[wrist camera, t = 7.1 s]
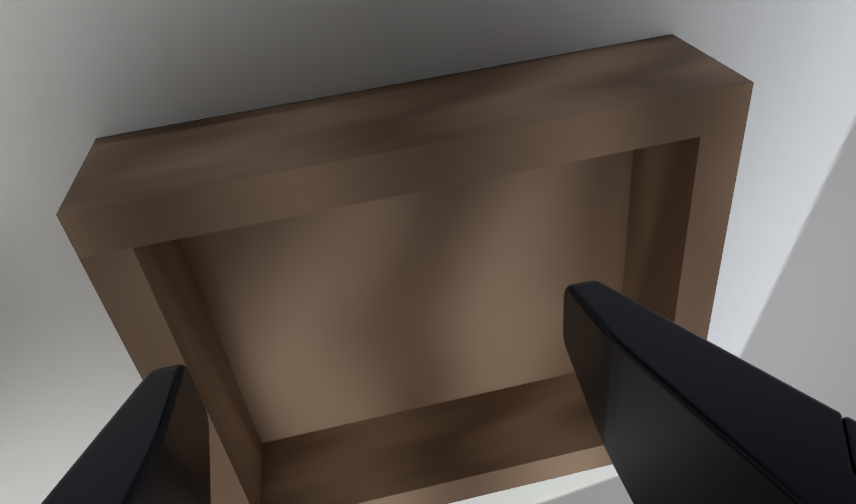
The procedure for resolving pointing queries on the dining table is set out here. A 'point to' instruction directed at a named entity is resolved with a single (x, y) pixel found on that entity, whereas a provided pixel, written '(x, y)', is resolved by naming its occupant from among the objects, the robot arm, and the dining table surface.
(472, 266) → the box
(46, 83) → the dining table surface
